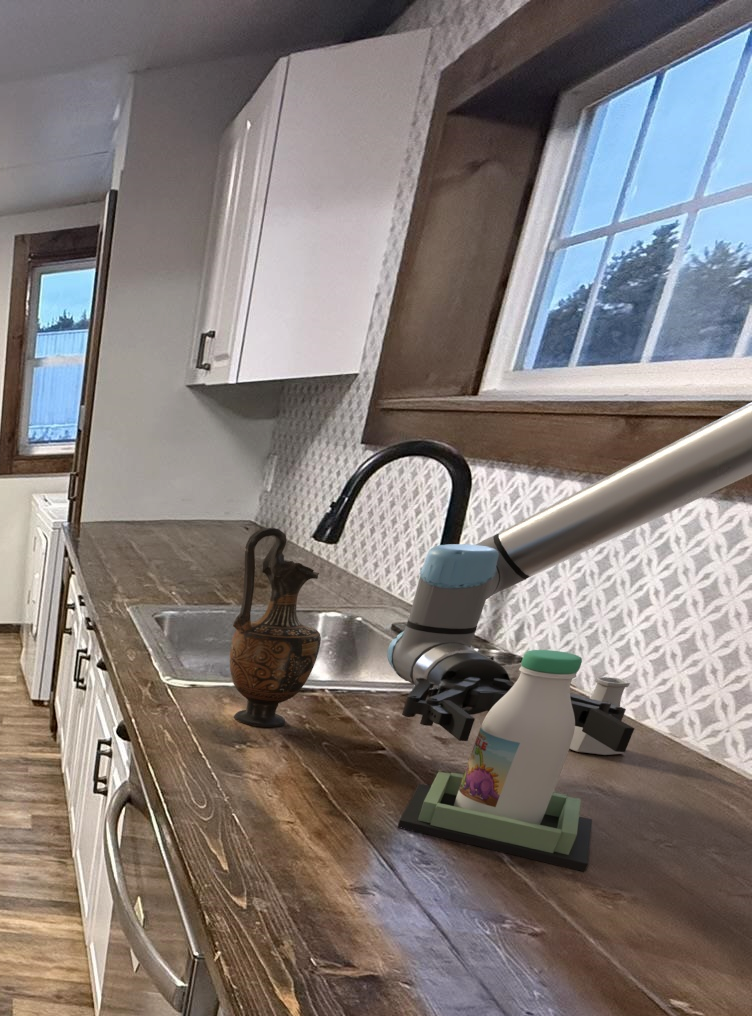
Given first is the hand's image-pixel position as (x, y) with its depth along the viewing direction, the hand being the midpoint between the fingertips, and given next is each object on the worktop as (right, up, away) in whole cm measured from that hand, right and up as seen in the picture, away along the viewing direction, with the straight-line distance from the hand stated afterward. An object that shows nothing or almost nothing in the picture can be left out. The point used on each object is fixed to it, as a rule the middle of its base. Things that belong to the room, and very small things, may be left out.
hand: (544, 734), depth 89 cm
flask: (+34, -1, +28) cm, 44 cm away
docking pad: (+2, -11, +8) cm, 13 cm away
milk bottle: (+1, -10, +7) cm, 12 cm away
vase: (-3, +4, +44) cm, 44 cm away
